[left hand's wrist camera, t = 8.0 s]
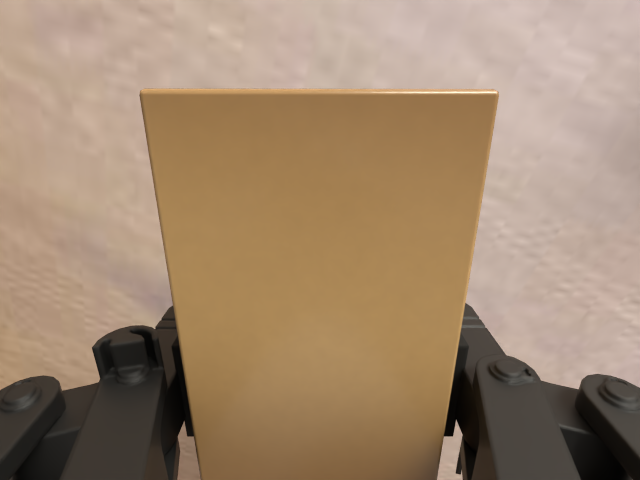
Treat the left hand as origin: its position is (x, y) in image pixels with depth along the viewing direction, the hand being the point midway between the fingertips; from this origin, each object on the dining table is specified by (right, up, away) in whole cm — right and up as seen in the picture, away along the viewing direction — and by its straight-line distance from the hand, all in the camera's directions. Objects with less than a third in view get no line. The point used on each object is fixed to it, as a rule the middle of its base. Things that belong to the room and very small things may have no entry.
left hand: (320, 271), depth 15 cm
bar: (0, -19, +8) cm, 21 cm away
